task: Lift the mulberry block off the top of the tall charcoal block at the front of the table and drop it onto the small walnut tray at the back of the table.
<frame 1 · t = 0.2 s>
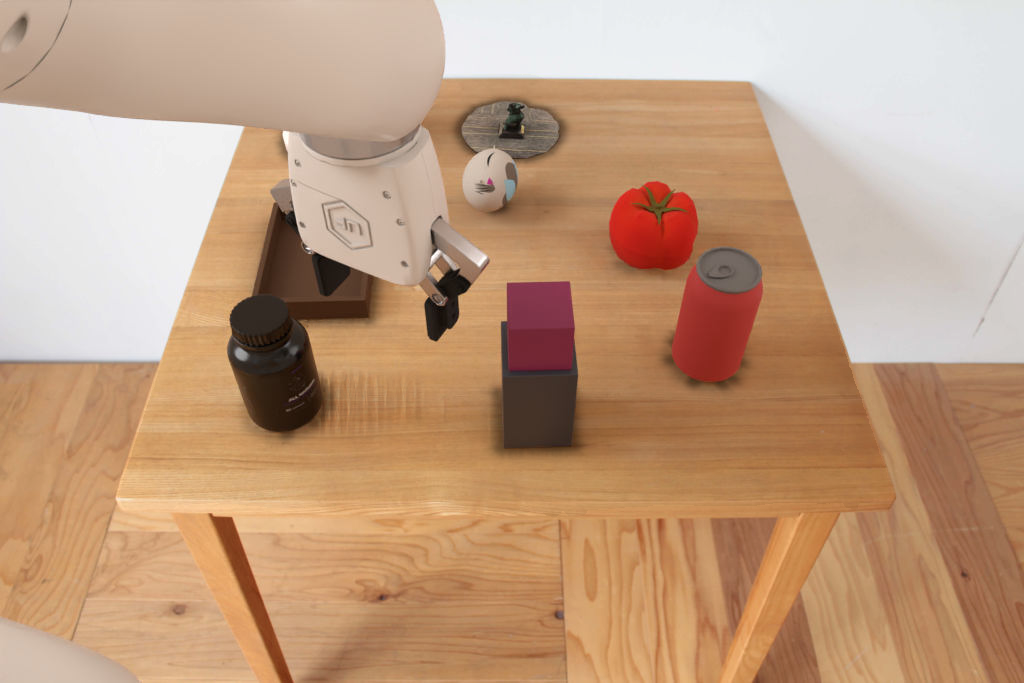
hand: (388, 305, 65), 15 cm above the table, tool pointing down, fingers open, 9 cm apart
supplement bottle: (287, 405, 78), on the table
beer can: (704, 360, 82), on the table
white tower model: (332, 138, 105), on the table
figurine: (490, 207, 96), on the table
tomato: (650, 256, 91), on the table
tray: (321, 266, 90), on the table
bottom block: (535, 419, 77), on the table, touching top block
sculpture: (510, 131, 106), on the table
top block: (538, 347, 69), point 10 cm above the table, touching bottom block
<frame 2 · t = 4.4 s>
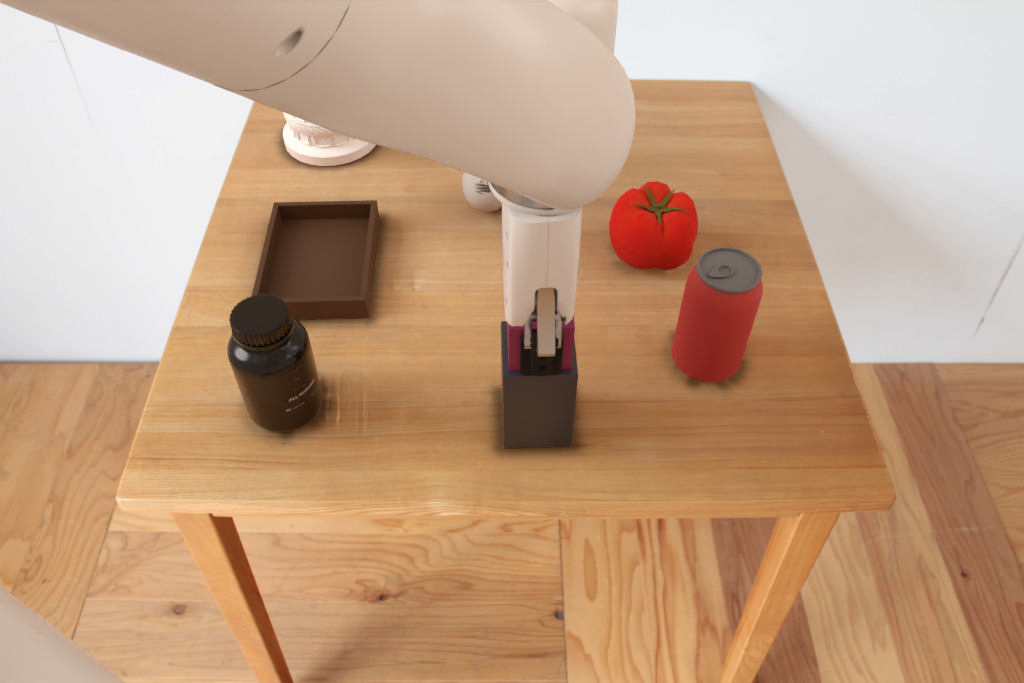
hand: (538, 343, 69), 10 cm above the table, tool pointing down, fingers closed on top block, 5 cm apart
top block: (538, 347, 69), point 10 cm above the table, touching bottom block, gripper
everything else where it was.
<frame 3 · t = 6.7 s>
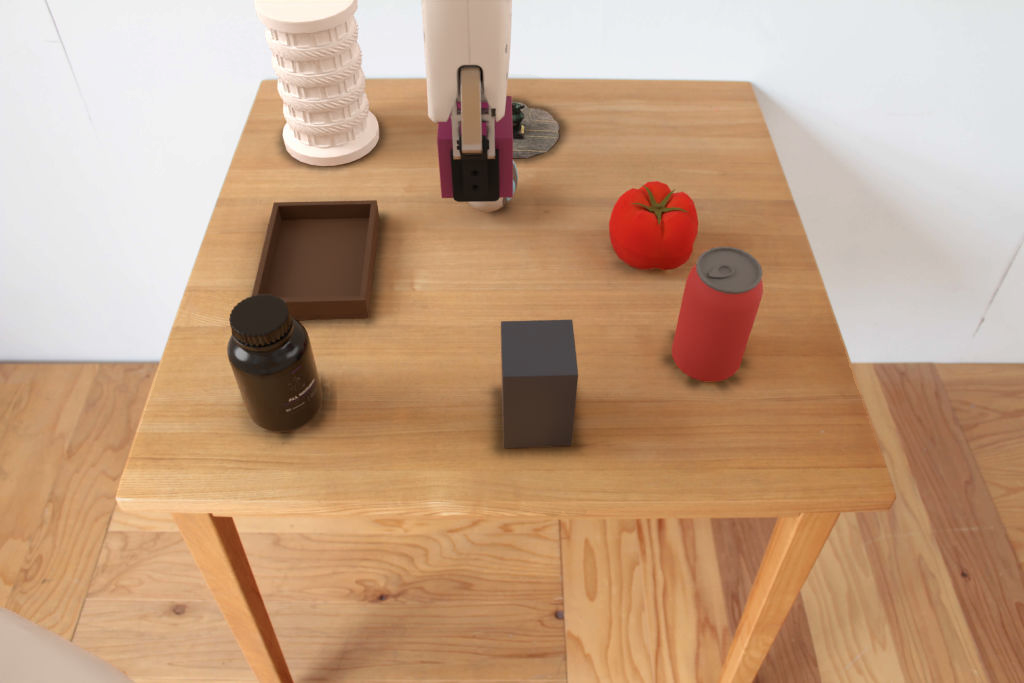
hand: (476, 171, 61), 24 cm above the table, tool pointing down, fingers closed on top block, 5 cm apart
bottom block: (535, 419, 77), on the table
top block: (477, 176, 61), point 24 cm above the table, touching gripper
everything else where it was.
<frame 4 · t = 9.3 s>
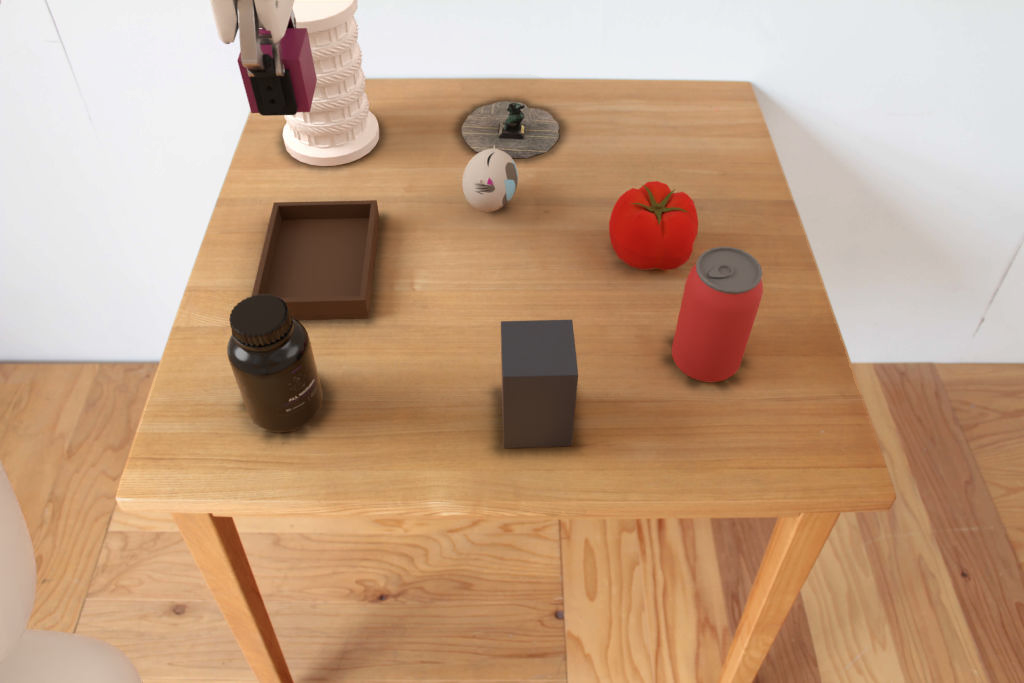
hand: (283, 92, 74), 21 cm above the table, tool pointing down, fingers closed on top block, 5 cm apart
top block: (284, 96, 74), point 21 cm above the table, touching gripper
everything else where it was.
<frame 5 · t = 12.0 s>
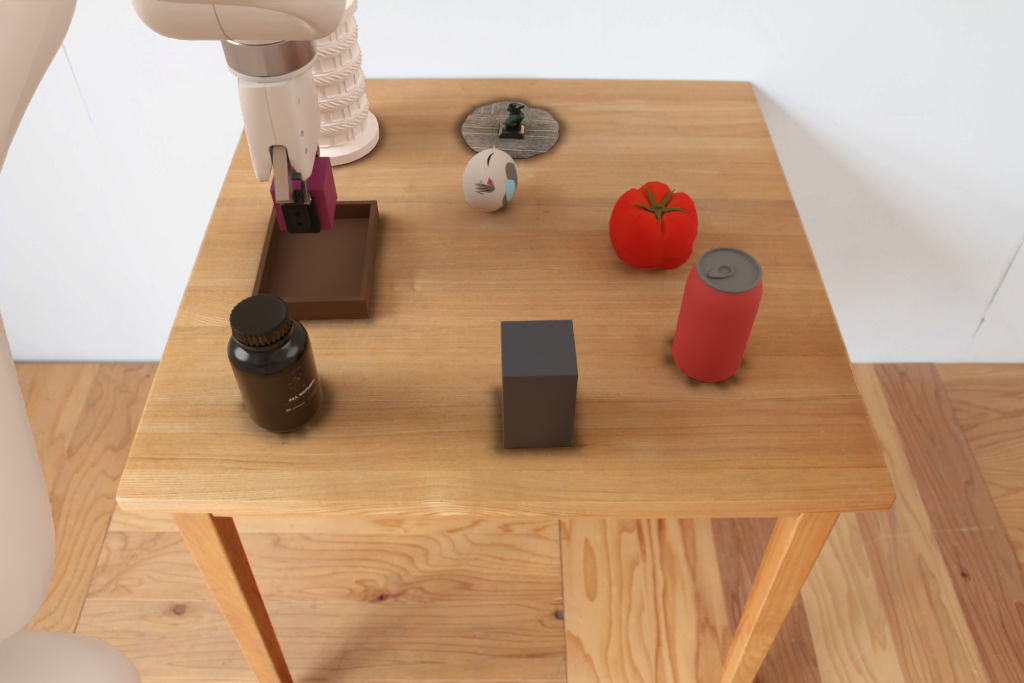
hand: (308, 210, 84), 8 cm above the table, tool pointing down, fingers closed on top block, 5 cm apart
top block: (309, 213, 84), point 7 cm above the table, touching gripper
everything else where it was.
when the fingers open (1 cm above the table, at t = 14.1 s): top block stays where it is, resting on tray.
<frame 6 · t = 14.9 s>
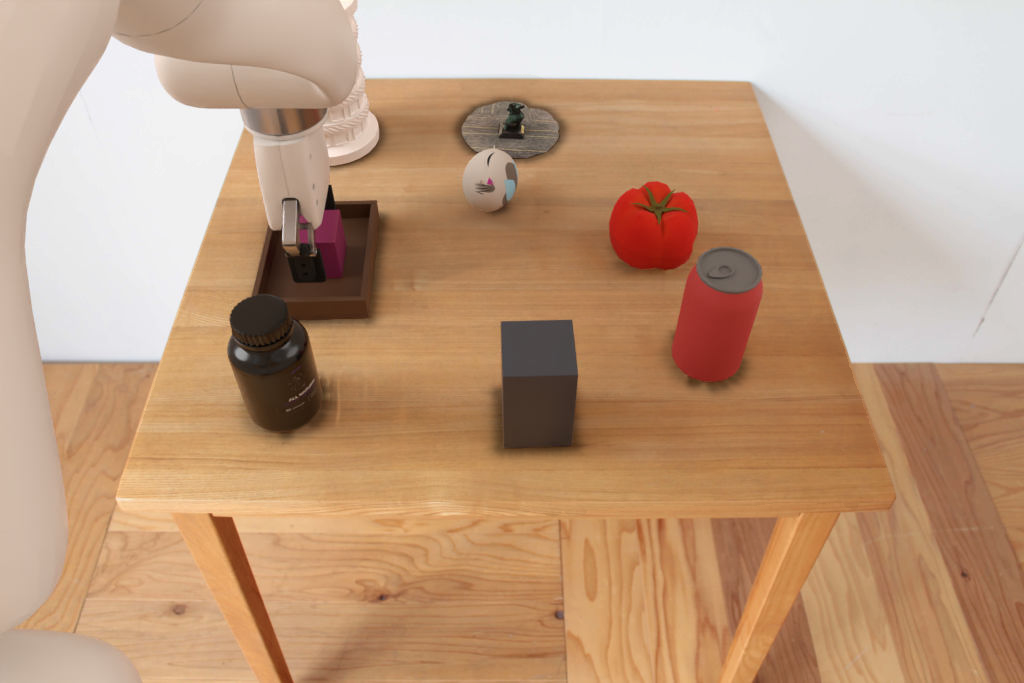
hand: (316, 247, 88), 3 cm above the table, tool pointing down, fingers open, 9 cm apart
top block: (320, 262, 89), point 1 cm above the table, touching tray
everything else where it was.
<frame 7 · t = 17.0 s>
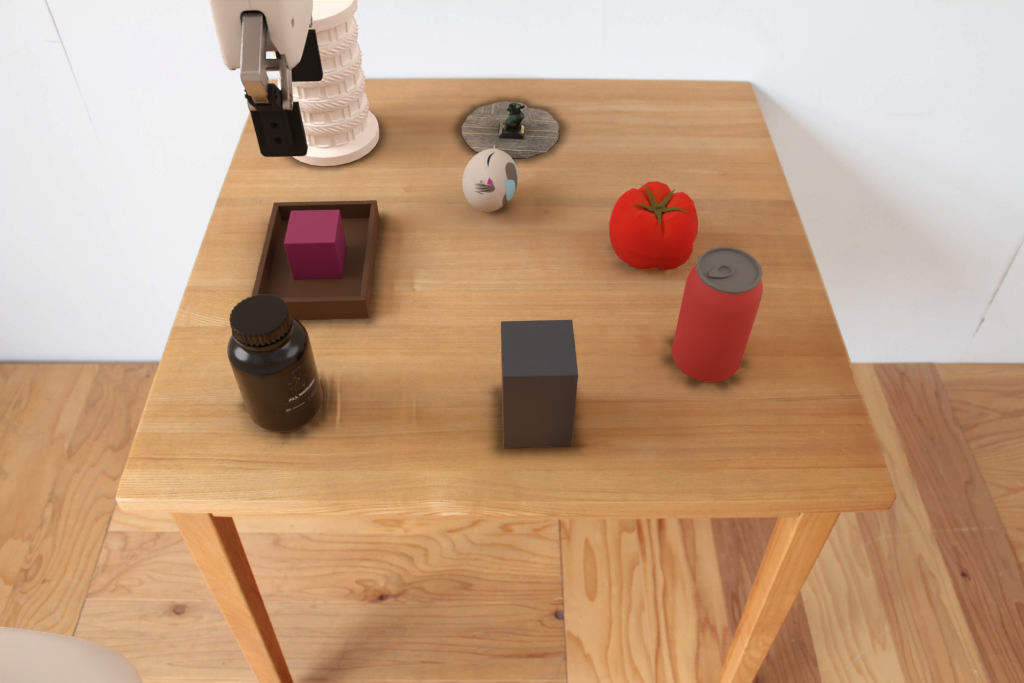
hand: (294, 115, 63), 26 cm above the table, tool pointing down, fingers open, 9 cm apart
nothing on the table moved.
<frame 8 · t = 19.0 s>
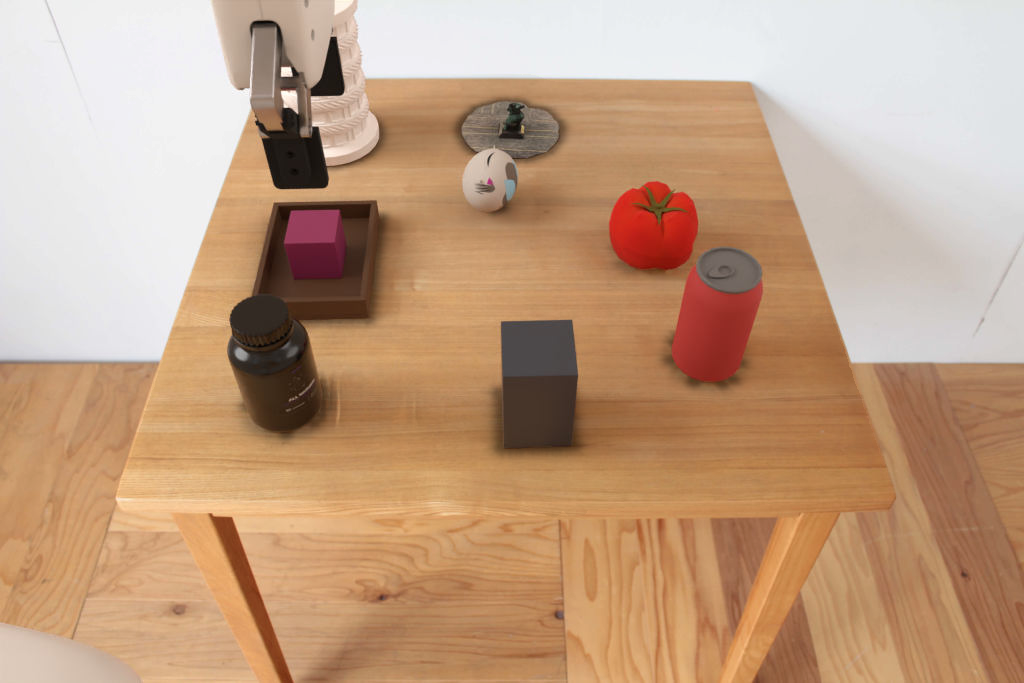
hand: (312, 137, 54), 30 cm above the table, tool pointing down, fingers open, 9 cm apart
nothing on the table moved.
at the end: top block 0.1 cm from the tray (horizontally); top block point 0.6 cm above the table; bottom block moved 0.0 cm from its start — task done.
